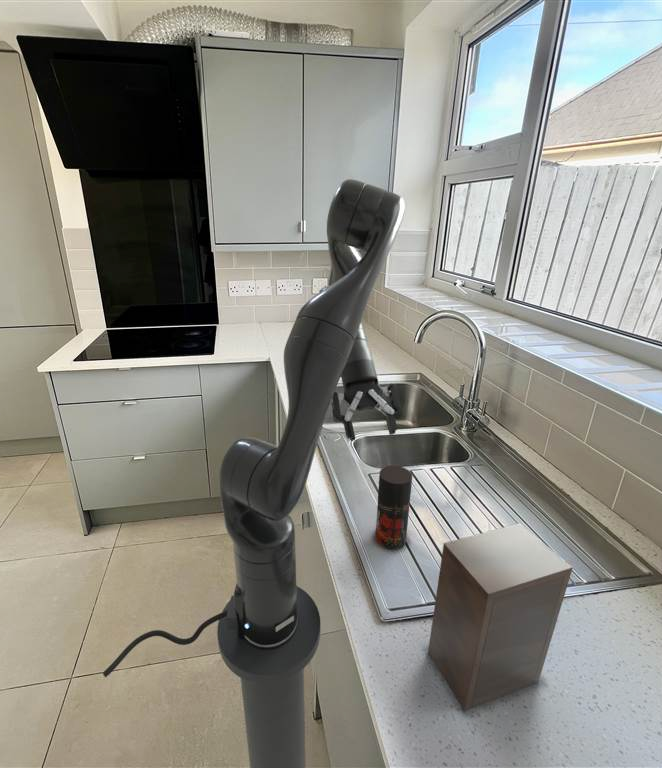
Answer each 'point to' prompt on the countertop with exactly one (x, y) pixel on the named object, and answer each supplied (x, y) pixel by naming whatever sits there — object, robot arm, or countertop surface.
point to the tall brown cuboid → (495, 612)
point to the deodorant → (393, 507)
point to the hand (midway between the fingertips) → (373, 437)
